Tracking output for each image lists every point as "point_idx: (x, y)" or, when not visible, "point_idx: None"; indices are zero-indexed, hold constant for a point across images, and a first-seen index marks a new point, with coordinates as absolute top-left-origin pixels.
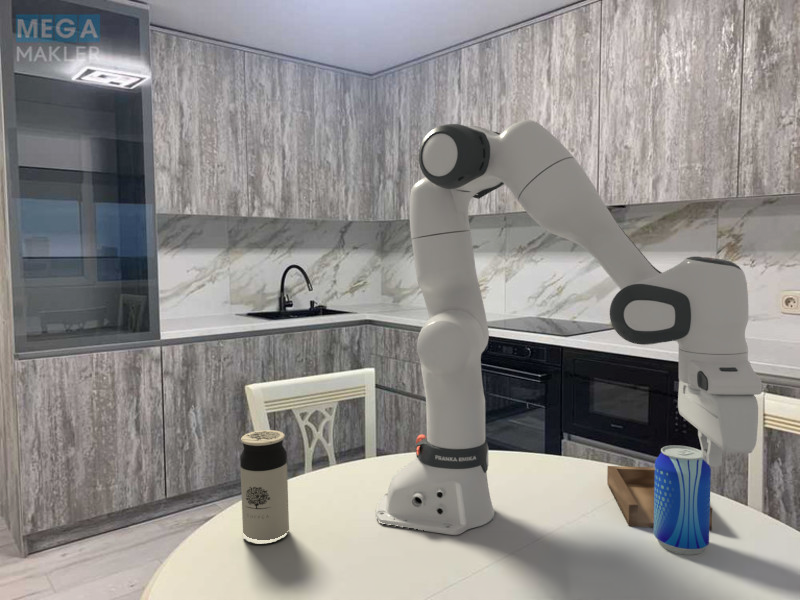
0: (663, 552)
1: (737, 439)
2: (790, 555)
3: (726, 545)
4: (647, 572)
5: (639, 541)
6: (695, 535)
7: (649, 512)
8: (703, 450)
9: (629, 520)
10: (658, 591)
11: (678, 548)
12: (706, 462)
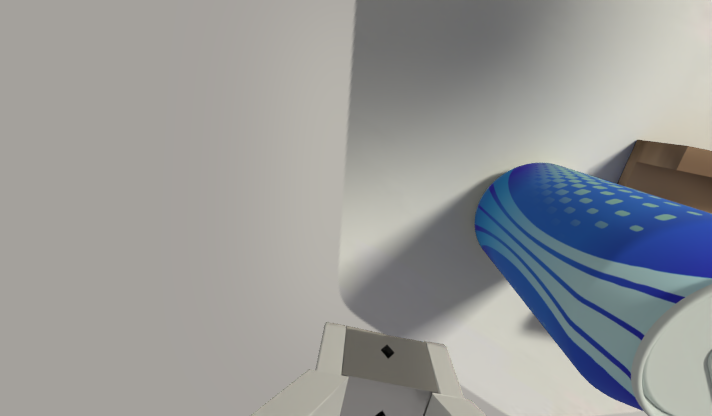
0: (501, 161)
1: None
2: None
3: (500, 295)
4: (429, 85)
5: (559, 131)
6: (485, 230)
7: None
8: (424, 386)
9: (648, 143)
10: (358, 73)
11: (487, 188)
12: (375, 332)
